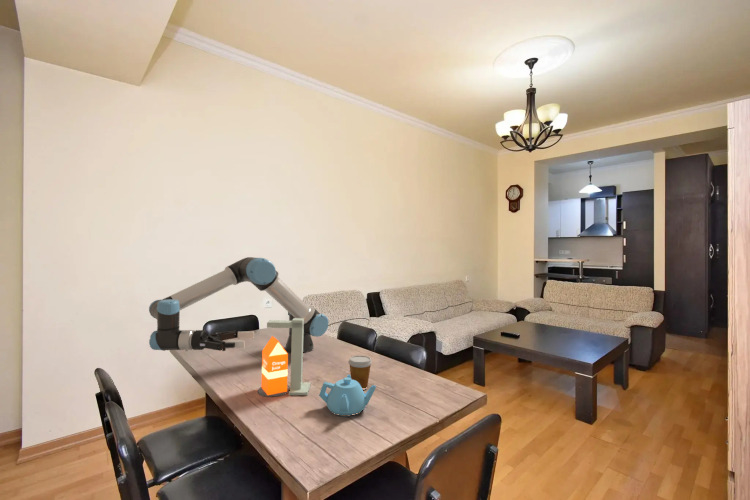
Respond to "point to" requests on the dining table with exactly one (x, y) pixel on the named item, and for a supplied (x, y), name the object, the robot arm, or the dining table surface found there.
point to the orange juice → (274, 367)
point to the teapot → (346, 396)
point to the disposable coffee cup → (360, 369)
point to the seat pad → (272, 394)
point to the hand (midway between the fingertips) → (249, 339)
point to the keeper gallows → (294, 354)
